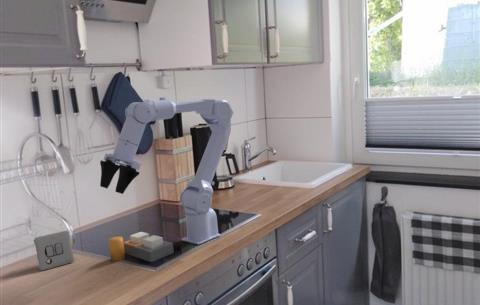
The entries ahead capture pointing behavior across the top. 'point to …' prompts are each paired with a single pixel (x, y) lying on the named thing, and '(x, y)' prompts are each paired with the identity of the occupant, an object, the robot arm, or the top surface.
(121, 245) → the cap
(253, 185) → the top surface
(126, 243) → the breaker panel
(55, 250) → the electrical switch
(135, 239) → the tagged button
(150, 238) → the button
